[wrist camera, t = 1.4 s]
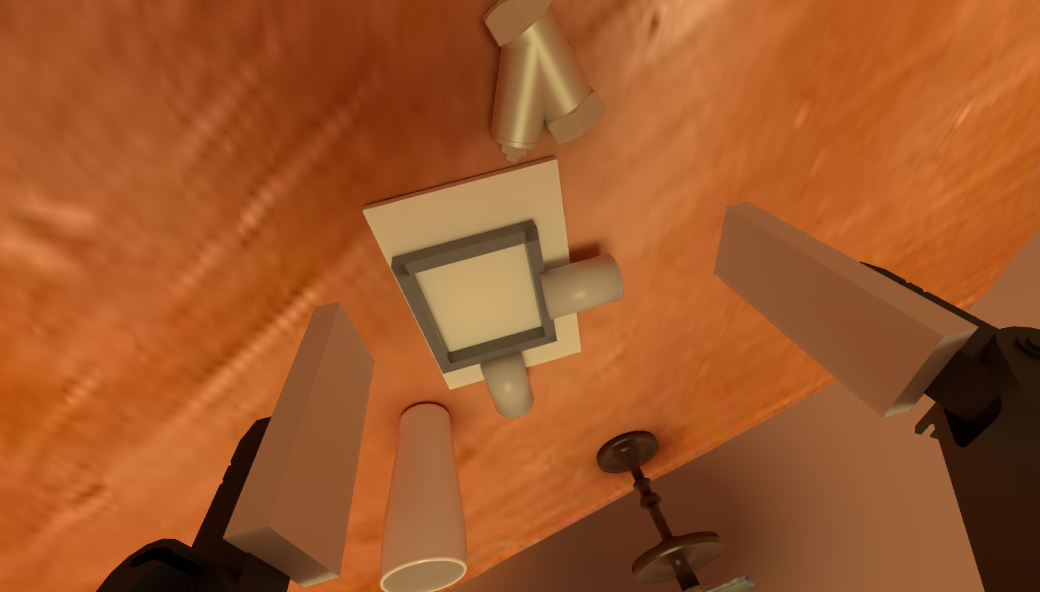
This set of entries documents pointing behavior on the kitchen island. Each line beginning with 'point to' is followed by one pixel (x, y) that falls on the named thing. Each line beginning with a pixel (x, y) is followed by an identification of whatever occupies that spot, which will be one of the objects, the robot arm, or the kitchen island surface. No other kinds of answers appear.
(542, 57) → the pipe fitting
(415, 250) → the coupling board
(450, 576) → the drinking glass
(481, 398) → the kitchen island surface
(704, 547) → the candlestick
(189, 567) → the robot arm
